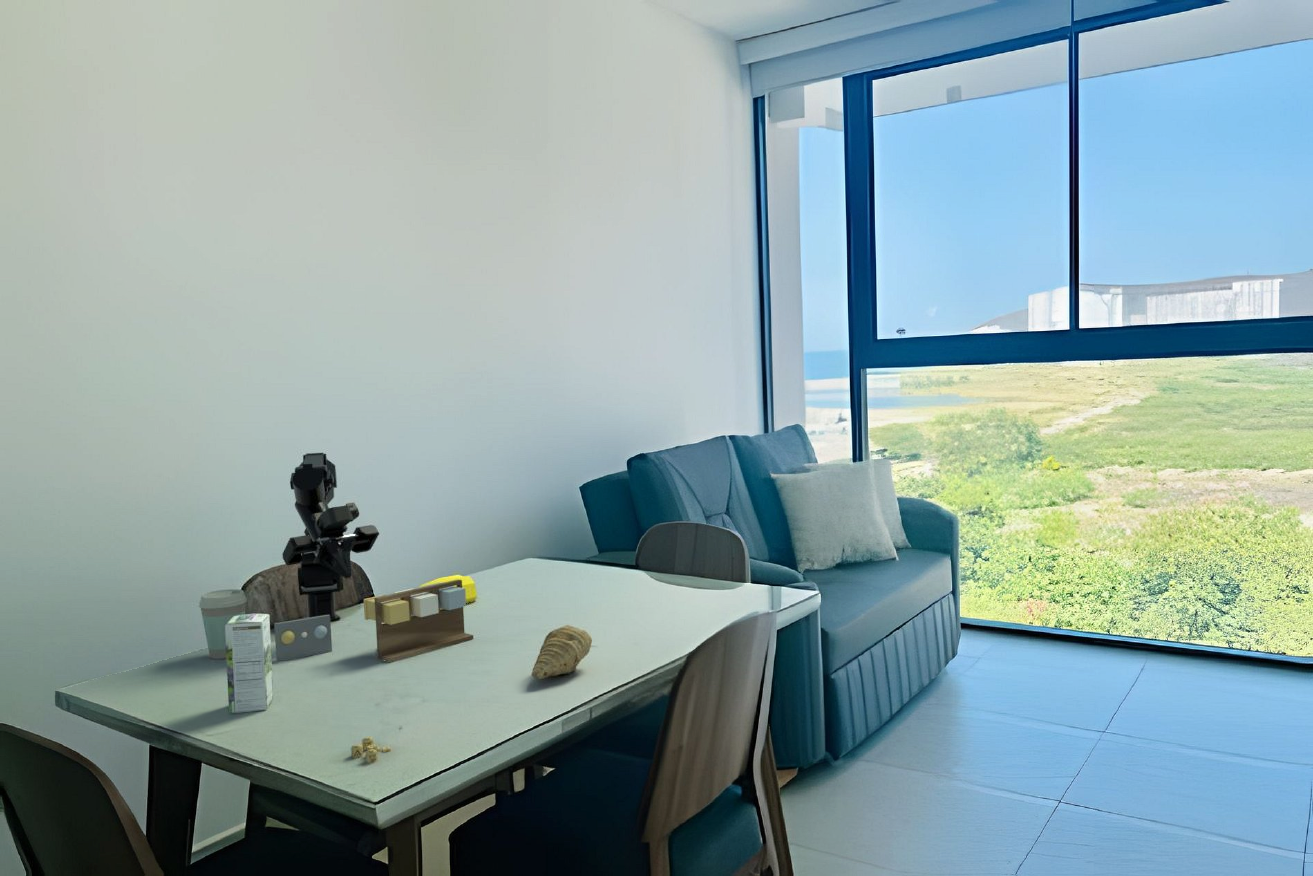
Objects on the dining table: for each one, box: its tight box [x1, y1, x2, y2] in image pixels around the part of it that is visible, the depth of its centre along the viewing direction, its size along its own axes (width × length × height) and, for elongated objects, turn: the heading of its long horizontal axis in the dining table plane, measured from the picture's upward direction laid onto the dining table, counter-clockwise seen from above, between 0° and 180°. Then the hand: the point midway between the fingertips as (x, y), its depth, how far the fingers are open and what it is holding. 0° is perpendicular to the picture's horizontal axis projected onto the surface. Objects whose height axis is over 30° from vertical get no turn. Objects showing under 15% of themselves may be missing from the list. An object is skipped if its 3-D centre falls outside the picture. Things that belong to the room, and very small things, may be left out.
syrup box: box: [225, 613, 274, 714], centre depth 155 cm, size 6×6×14 cm
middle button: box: [392, 587, 439, 617], centre depth 187 cm, size 9×4×4 cm, turn 48°
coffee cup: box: [198, 588, 248, 660], centre depth 187 cm, size 9×8×12 cm
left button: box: [363, 594, 410, 625], centre depth 183 cm, size 9×4×4 cm, turn 48°
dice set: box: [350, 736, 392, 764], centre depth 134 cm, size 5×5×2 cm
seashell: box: [531, 624, 593, 680], centre depth 166 cm, size 14×8×8 cm, turn 160°
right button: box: [422, 582, 467, 610], centre depth 192 cm, size 9×4×4 cm, turn 48°
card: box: [273, 615, 333, 662], centre depth 184 cm, size 1×10×7 cm, turn 124°
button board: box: [374, 579, 474, 663], centre depth 186 cm, size 4×19×12 cm, turn 138°
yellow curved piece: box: [418, 574, 478, 610], centre depth 220 cm, size 18×7×8 cm
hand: (349, 577), depth 191 cm, fingers closed
